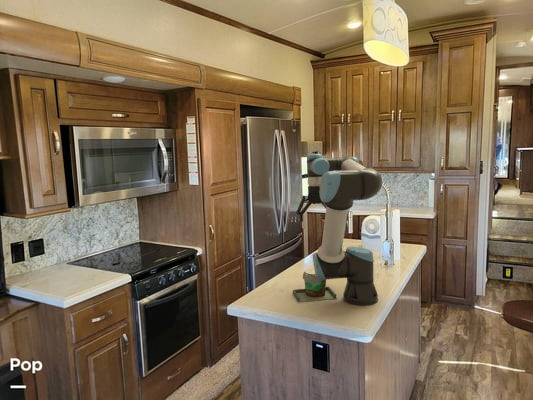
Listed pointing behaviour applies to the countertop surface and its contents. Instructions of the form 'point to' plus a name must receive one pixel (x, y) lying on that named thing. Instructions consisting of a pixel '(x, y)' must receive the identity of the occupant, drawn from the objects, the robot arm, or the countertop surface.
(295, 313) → the countertop surface
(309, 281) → the food container
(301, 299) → the green tray
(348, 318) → the countertop surface
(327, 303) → the countertop surface
